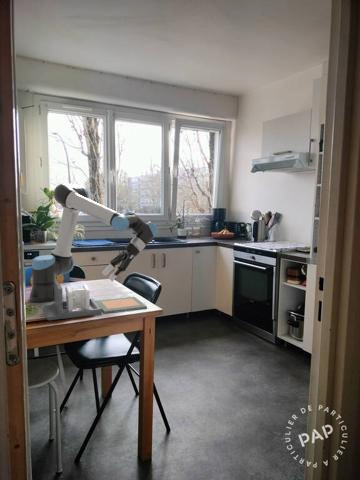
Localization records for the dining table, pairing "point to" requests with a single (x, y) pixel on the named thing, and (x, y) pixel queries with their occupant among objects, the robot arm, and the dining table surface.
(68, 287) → the cable organizer
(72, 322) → the dining table surface
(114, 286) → the dining table surface
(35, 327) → the dining table surface
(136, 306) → the plate
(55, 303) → the grey tray holder
